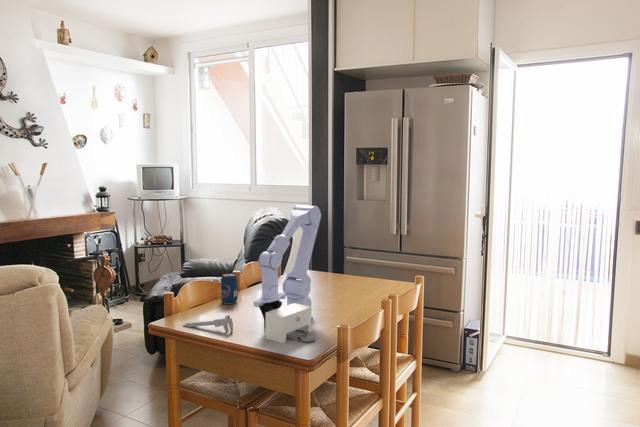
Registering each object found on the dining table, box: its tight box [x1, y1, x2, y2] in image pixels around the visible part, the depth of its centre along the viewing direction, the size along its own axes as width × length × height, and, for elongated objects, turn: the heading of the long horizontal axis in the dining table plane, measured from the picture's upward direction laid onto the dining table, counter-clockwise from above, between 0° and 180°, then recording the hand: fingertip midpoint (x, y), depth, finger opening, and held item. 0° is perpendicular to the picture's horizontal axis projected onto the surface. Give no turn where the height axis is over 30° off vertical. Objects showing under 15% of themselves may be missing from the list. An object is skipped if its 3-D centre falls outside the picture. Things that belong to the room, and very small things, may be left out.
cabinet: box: [265, 303, 312, 344], centre depth 172 cm, size 15×9×9 cm, turn 142°
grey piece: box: [263, 307, 306, 341], centre depth 173 cm, size 5×16×8 cm, turn 52°
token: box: [299, 333, 315, 344], centre depth 167 cm, size 5×5×2 cm
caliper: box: [182, 314, 234, 333], centre depth 178 cm, size 20×1×6 cm, turn 70°
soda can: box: [220, 272, 238, 305], centre depth 212 cm, size 7×7×12 cm
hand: (270, 322), depth 177 cm, fingers closed on grey piece, 2 cm apart
